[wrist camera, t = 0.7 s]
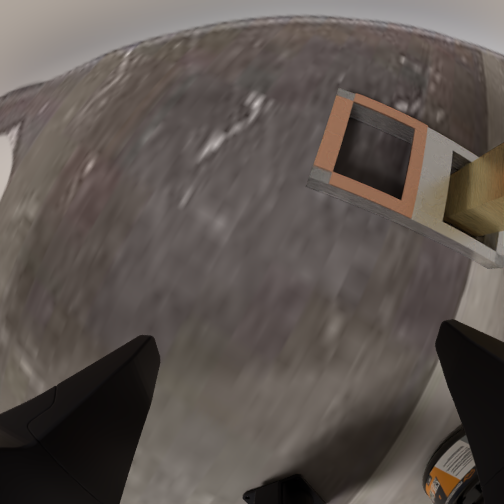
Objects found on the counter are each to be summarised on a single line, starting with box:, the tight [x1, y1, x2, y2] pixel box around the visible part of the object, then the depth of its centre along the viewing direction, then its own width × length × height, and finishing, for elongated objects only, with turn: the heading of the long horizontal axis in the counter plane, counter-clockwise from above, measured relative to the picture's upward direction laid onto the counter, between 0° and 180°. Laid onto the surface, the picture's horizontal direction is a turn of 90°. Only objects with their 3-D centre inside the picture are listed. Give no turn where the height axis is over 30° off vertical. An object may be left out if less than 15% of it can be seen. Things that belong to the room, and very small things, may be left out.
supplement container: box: [422, 429, 484, 504], centre depth 14 cm, size 10×10×12 cm
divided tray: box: [306, 88, 504, 269], centre depth 21 cm, size 20×9×3 cm, turn 69°
